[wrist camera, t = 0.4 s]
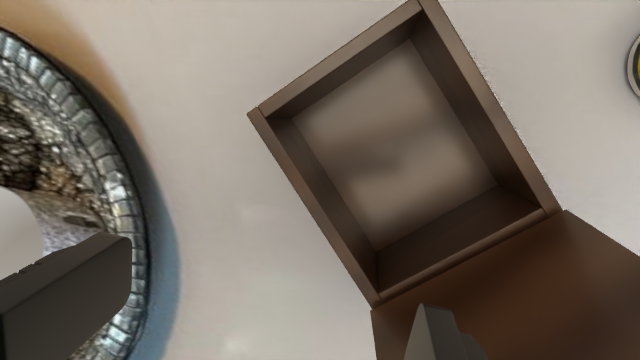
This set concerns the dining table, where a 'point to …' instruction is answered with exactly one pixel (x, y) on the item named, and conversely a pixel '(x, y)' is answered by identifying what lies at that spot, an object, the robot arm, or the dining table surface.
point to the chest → (403, 153)
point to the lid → (532, 298)
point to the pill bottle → (634, 67)
